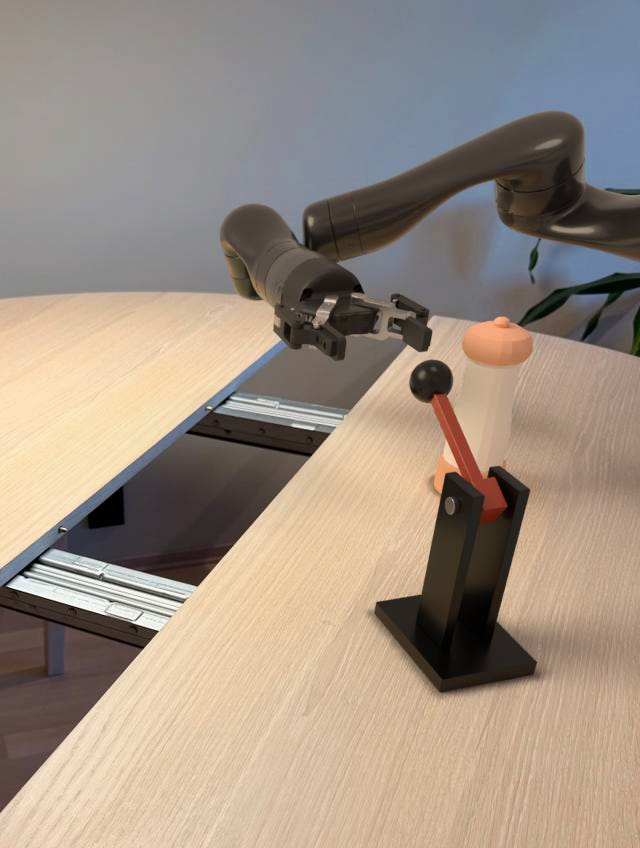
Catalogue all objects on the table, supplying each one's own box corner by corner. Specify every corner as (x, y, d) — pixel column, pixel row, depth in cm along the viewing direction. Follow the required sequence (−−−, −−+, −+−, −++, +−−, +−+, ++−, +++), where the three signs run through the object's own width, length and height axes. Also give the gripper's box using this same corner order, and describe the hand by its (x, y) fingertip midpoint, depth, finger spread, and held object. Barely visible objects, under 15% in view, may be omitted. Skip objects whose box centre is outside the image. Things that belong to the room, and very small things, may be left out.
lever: (397, 380, 85) (413, 352, 81) (434, 376, 86) (451, 348, 82) (459, 530, 79) (479, 506, 76) (498, 524, 80) (519, 500, 77)
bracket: (373, 613, 90) (400, 455, 81) (460, 598, 92) (496, 443, 83) (439, 692, 81) (477, 524, 72) (534, 674, 83) (583, 508, 74)
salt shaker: (512, 489, 110) (554, 318, 99) (476, 510, 106) (516, 334, 95) (457, 467, 115) (490, 301, 103) (420, 486, 111) (451, 316, 99)
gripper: (369, 324, 106) (446, 378, 93) (246, 335, 102) (308, 393, 90) (379, 251, 101) (461, 298, 89) (250, 261, 98) (316, 311, 86)
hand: (384, 346), depth 89 cm, fingers open, 8 cm apart
